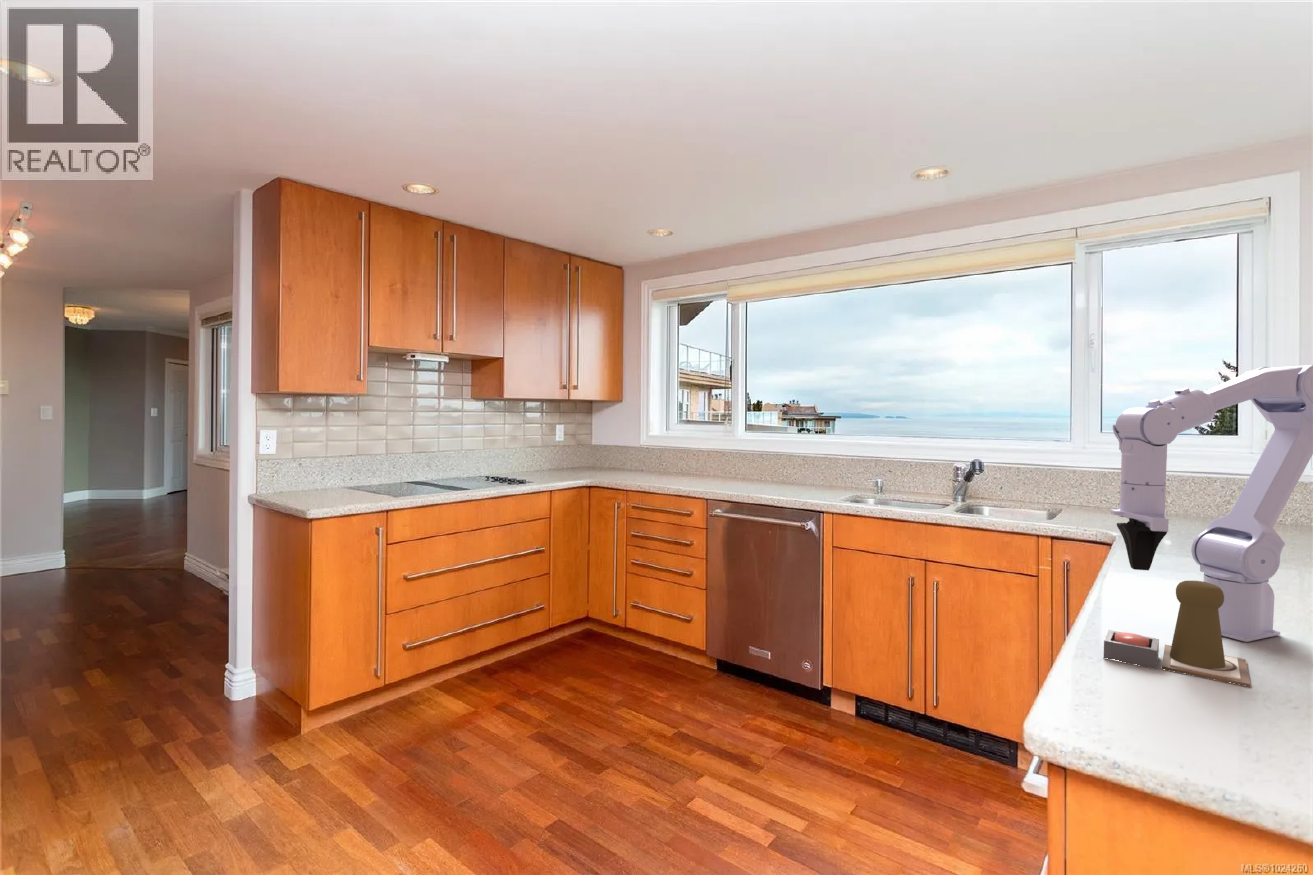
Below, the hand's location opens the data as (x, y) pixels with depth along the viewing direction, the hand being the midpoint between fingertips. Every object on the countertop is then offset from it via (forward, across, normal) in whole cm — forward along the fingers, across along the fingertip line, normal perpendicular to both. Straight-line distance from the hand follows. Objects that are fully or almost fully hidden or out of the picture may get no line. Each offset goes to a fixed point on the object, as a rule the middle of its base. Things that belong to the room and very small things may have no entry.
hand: (1139, 569), depth 103 cm
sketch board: (+10, +12, +4) cm, 17 cm away
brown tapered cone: (+10, +12, +3) cm, 16 cm away
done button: (+9, +12, -5) cm, 16 cm away
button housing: (+10, +12, -5) cm, 17 cm away
